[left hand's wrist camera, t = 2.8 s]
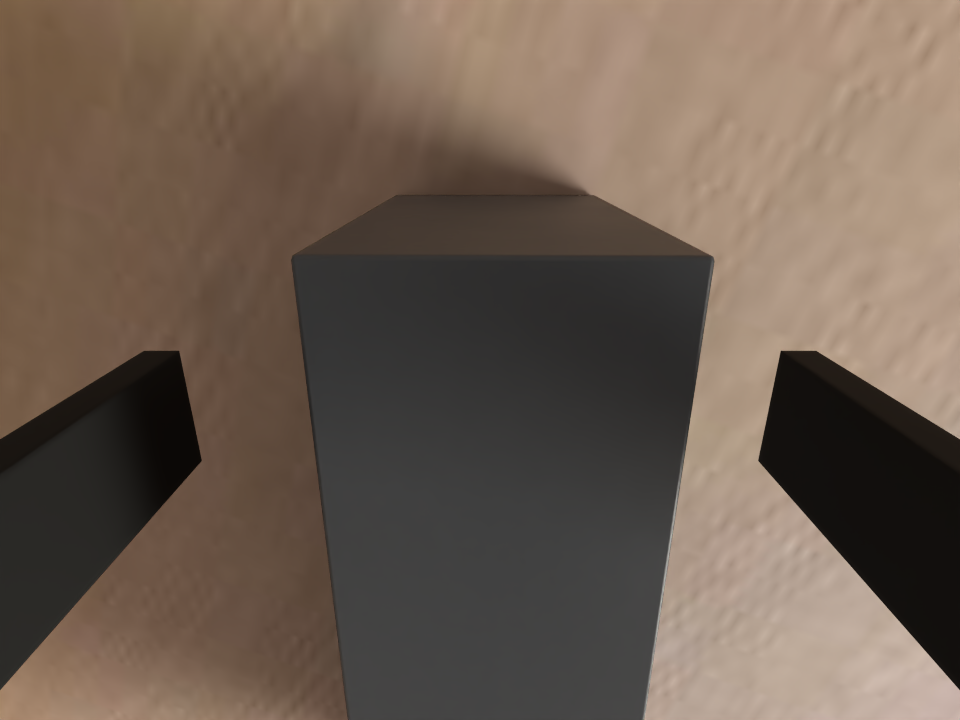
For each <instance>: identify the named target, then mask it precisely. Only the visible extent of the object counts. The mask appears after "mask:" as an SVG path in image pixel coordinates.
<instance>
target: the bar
mask: <svg viewBox="0 0 960 720" xmlns="http://www.w3.org/2000/svg"><path fill="white" fill-rule="evenodd" d="M291 262H292V270H293V278H294V286H295V294H296V302H297V310H298V318H299V326H300V335H301V343H302V351H303V359H304V367H305V375H306V383H307V391H308V399H309V408H310V416H311V424H312V432H313V440H314V448H315V456H316V464H317V473H318V481H319V489H320V497H321V505H322V513H323V521H324V529H325V537H326V546H327V554H328V562H329V570H330V578H331V586H332V594H333V602H334V610H335V619H336V627H337V635H338V643H339V651H340V659H341V667H342V675H343V683H344V692H345V700H346V708H347V716H348V720H644V718H645V711H646V705H647V698H648V692H649V685H650V678H651V672H652V665H653V659H654V652H655V646H656V639H657V633H658V626H659V620H660V613H661V607H662V600H663V594H664V587H665V581H666V574H667V567H668V561H669V554H670V548H671V541H672V535H673V528H674V522H675V515H676V509H677V502H678V496H679V489H680V483H681V476H682V469H683V463H684V456H685V450H686V443H687V437H688V430H689V424H690V417H691V411H692V404H693V398H694V391H695V385H696V378H697V372H698V365H699V358H700V352H701V345H702V339H703V332H704V326H705V319H706V313H707V306H708V300H709V293H710V287H711V280H712V274H713V267H714V258H713V256H711V255H709V254H707V253H705V252H703V251H701V250H699V249H697V248H695V247H693V246H691V245H689V244H687V243H685V242H683V241H682V240H680V239H678V238H676V237H674V236H672V235H670V234H668V233H666V232H664V231H662V230H660V229H658V228H656V227H654V226H652V225H651V224H649V223H647V222H645V221H643V220H641V219H639V218H637V217H635V216H633V215H631V214H629V213H627V212H625V211H623V210H621V209H619V208H618V207H616V206H614V205H612V204H610V203H608V202H606V201H604V200H602V199H600V198H598V197H596V196H594V195H396V196H394V197H393V198H391V199H389V200H387V201H386V202H384V203H382V204H381V205H379V206H377V207H375V208H374V209H372V210H370V211H369V212H367V213H365V214H363V215H362V216H360V217H358V218H356V219H355V220H353V221H351V222H350V223H348V224H346V225H344V226H343V227H341V228H339V229H338V230H336V231H334V232H332V233H331V234H329V235H327V236H325V237H324V238H322V239H320V240H319V241H317V242H315V243H313V244H312V245H310V246H308V247H307V248H305V249H303V250H301V251H300V252H298V253H296V254H294V255H293V256H292V259H291Z"/></svg>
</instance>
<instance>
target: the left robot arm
mask: <svg viewBox="0 0 960 720" xmlns="http://www.w3.org/2000/svg"><path fill="white" fill-rule="evenodd" d="M201 461H202V460H201V455H200V450H199V445H198V440H197V435H196V431H195V426H194V421H193V416H192V411H191V406H190V401H189V397H188V392H187V387H186V382H185V377H184V372H183V367H182V363H181V358H180V353H179V351H143V352H141V353H140V354H138V355H137V356H135V357H133V358H132V359H130V360H128V361H127V362H125V363H124V364H122V365H120V366H119V367H117V368H115V369H114V370H112V371H111V372H109V373H107V374H106V375H104V376H102V377H101V378H99V379H98V380H96V381H94V382H93V383H91V384H89V385H88V386H86V387H85V388H83V389H81V390H80V391H78V392H76V393H75V394H73V395H72V396H70V397H68V398H67V399H65V400H63V401H62V402H60V403H59V404H57V405H55V406H54V407H52V408H50V409H49V410H47V411H46V412H44V413H42V414H41V415H39V416H37V417H36V418H34V419H33V420H31V421H29V422H28V423H26V424H24V425H23V426H21V427H20V428H18V429H16V430H15V431H13V432H11V433H10V434H8V435H7V436H5V437H3V438H2V439H0V690H1V688H2V687H3V686H4V685H5V684H6V683H7V682H8V681H9V679H10V678H11V677H12V676H13V675H14V674H15V673H16V671H17V670H18V669H19V668H20V667H21V666H22V665H23V663H24V662H25V661H26V660H27V659H28V658H29V657H30V655H31V654H32V653H33V652H34V651H35V650H36V649H37V648H38V646H39V645H40V644H41V643H42V642H43V641H44V640H45V638H46V637H47V636H48V635H49V634H50V633H51V632H52V630H53V629H54V628H55V627H56V626H57V625H58V624H59V623H60V621H61V620H62V619H63V618H64V617H65V616H66V615H67V613H68V612H69V611H70V610H71V609H72V608H73V607H74V605H75V604H76V603H77V602H78V601H79V600H80V599H81V597H82V596H83V595H84V594H85V593H86V592H87V591H88V590H89V588H90V587H91V586H92V585H93V584H94V583H95V582H96V580H97V579H98V578H99V577H100V576H101V575H102V574H103V572H104V571H105V570H106V569H107V568H108V567H109V566H110V564H111V563H112V562H113V561H114V560H115V559H116V558H117V557H118V555H119V554H120V553H121V552H122V551H123V550H124V549H125V547H126V546H127V545H128V544H129V543H130V542H131V541H132V539H133V538H134V537H135V536H136V535H137V534H138V533H139V532H140V530H141V529H142V528H143V527H144V526H145V525H146V524H147V522H148V521H149V520H150V519H151V518H152V517H153V516H154V514H155V513H156V512H157V511H158V510H159V509H160V508H161V506H162V505H163V504H164V503H165V502H166V501H167V500H168V499H169V497H170V496H171V495H172V494H173V493H174V492H175V491H176V489H177V488H178V487H179V486H180V485H181V484H182V483H183V481H184V480H185V479H186V478H187V477H188V476H189V475H190V473H191V472H192V471H193V470H194V469H195V468H196V467H197V466H198V464H199V463H200V462H201ZM758 461H759V462H760V463H761V464H762V466H763V467H764V468H765V469H766V470H767V471H768V472H769V473H770V475H771V476H772V477H773V478H774V479H775V480H776V481H777V483H778V484H779V485H780V486H781V487H782V488H783V489H784V491H785V492H786V493H787V494H788V495H789V496H790V497H791V499H792V500H793V501H794V502H795V503H796V504H797V505H798V506H799V508H800V509H801V510H802V511H803V512H804V513H805V514H806V516H807V517H808V518H809V519H810V520H811V521H812V522H813V524H814V525H815V526H816V527H817V528H818V529H819V530H820V532H821V533H822V534H823V535H824V536H825V537H826V538H827V539H828V541H829V542H830V543H831V544H832V545H833V546H834V547H835V549H836V550H837V551H838V552H839V553H840V554H841V555H842V557H843V558H844V559H845V560H846V561H847V562H848V563H849V564H850V566H851V567H852V568H853V569H854V570H855V571H856V572H857V574H858V575H859V576H860V577H861V578H862V579H863V580H864V582H865V583H866V584H867V585H868V586H869V587H870V588H871V590H872V591H873V592H874V593H875V594H876V595H877V596H878V597H879V599H880V600H881V601H882V602H883V603H884V604H885V605H886V607H887V608H888V609H889V610H890V611H891V612H892V613H893V615H894V616H895V617H896V618H897V619H898V620H899V621H900V623H901V624H902V625H903V626H904V627H905V628H906V629H907V630H908V632H909V633H910V634H911V635H912V636H913V637H914V638H915V640H916V641H917V642H918V643H919V644H920V645H921V646H922V648H923V649H924V650H925V651H926V652H927V653H928V654H929V655H930V657H931V658H932V659H933V660H934V661H935V662H936V663H937V665H938V666H939V667H940V668H941V669H942V670H943V671H944V673H945V674H946V675H947V676H948V677H949V678H950V679H951V681H952V682H953V683H954V684H955V685H956V686H957V687H958V688H959V690H960V439H958V438H957V437H955V436H953V435H952V434H950V433H949V432H947V431H945V430H944V429H942V428H940V427H939V426H937V425H936V424H934V423H932V422H931V421H929V420H927V419H926V418H924V417H923V416H921V415H919V414H918V413H916V412H914V411H913V410H911V409H910V408H908V407H906V406H905V405H903V404H901V403H900V402H898V401H897V400H895V399H893V398H892V397H890V396H888V395H887V394H885V393H884V392H882V391H880V390H879V389H877V388H875V387H874V386H872V385H871V384H869V383H867V382H866V381H864V380H862V379H861V378H859V377H858V376H856V375H854V374H853V373H851V372H849V371H848V370H846V369H845V368H843V367H841V366H840V365H838V364H836V363H835V362H833V361H832V360H830V359H828V358H827V357H825V356H823V355H822V354H820V353H819V352H817V351H781V353H780V358H779V363H778V367H777V372H776V377H775V382H774V387H773V392H772V397H771V401H770V406H769V411H768V416H767V421H766V426H765V431H764V435H763V440H762V445H761V450H760V455H759V460H758Z"/></svg>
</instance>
